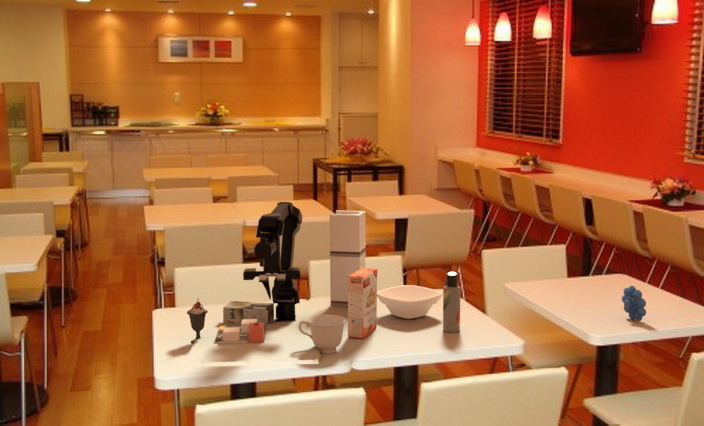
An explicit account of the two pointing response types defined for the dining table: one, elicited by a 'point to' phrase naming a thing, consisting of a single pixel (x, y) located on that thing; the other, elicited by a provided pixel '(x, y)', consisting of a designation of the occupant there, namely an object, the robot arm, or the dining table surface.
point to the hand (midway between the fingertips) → (272, 298)
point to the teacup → (325, 331)
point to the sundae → (197, 318)
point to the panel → (243, 335)
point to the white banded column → (345, 251)
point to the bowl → (409, 300)
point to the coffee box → (248, 312)
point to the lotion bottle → (451, 303)
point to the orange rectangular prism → (256, 332)
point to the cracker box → (362, 302)
